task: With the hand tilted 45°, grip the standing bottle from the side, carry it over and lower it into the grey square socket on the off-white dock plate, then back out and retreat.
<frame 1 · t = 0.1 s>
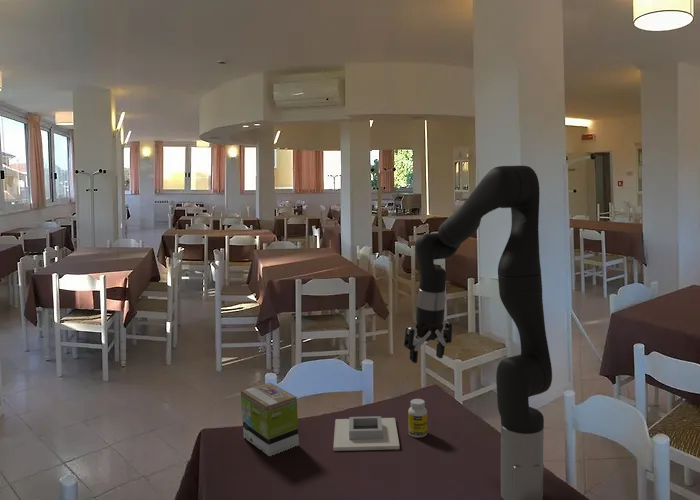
hand: (426, 359, 157), 22 cm above the table, tool pointing down, fingers open, 8 cm apart
tea box: (270, 443, 159), on the table
supplement bottle: (417, 434, 161), on the table
socket dock: (365, 435, 161), on the table
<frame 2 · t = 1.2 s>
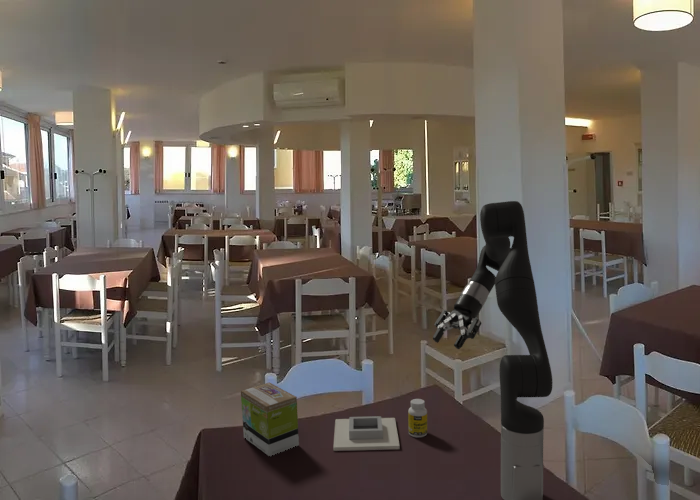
hand: (445, 344, 165), 24 cm above the table, tool tilted 45°, fingers open, 8 cm apart
nothing on the table moved.
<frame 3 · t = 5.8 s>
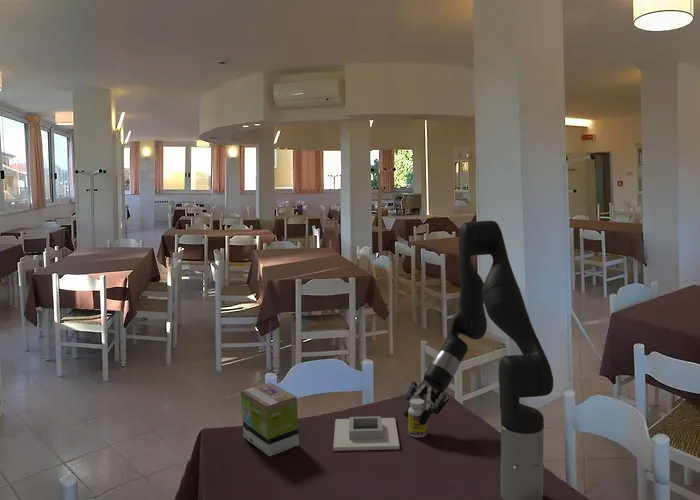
hand: (413, 419, 159), 5 cm above the table, tool tilted 45°, fingers closed on supplement bottle, 5 cm apart
supplement bottle: (417, 434, 161), on the table, touching gripper
everything else where it was.
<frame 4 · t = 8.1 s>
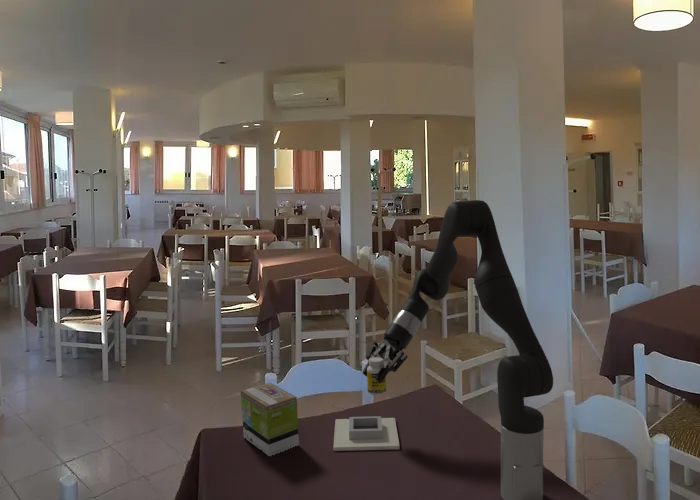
hand: (371, 377, 159), 17 cm above the table, tool tilted 45°, fingers closed on supplement bottle, 5 cm apart
supplement bottle: (377, 392, 160), point 12 cm above the table, touching gripper
everything else where it was.
when the fingers open (7 cm above the table, at t = 10.7 s): supplement bottle stays where it is, resting on socket dock.
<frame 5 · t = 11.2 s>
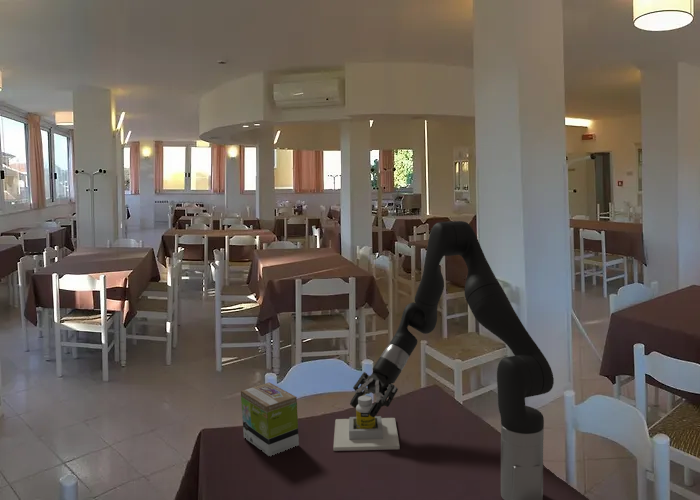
hand: (361, 410, 159), 8 cm above the table, tool tilted 45°, fingers open, 8 cm apart
supplement bottle: (366, 431, 161), point 1 cm above the table, touching socket dock
everything else where it was.
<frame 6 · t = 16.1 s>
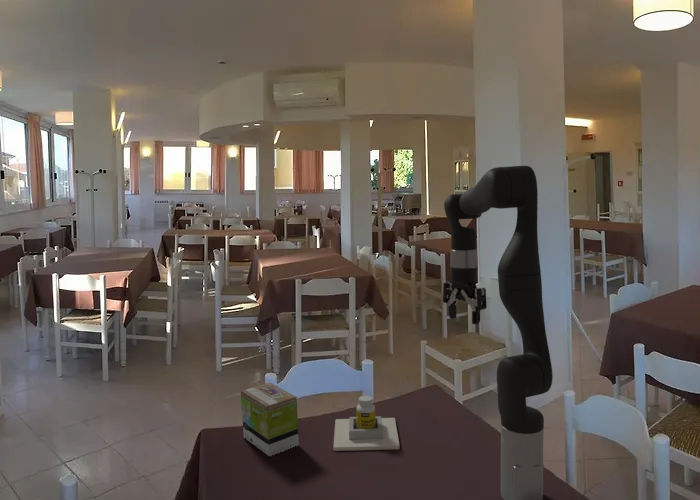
hand: (464, 320, 160), 32 cm above the table, tool pointing down, fingers open, 8 cm apart
nothing on the table moved.
at the end: supplement bottle 0.3 cm off-centre on the socket dock, point 1.0 cm above the socket dock's base; supplement bottle tilted 0°; the gripper is holding nothing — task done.
